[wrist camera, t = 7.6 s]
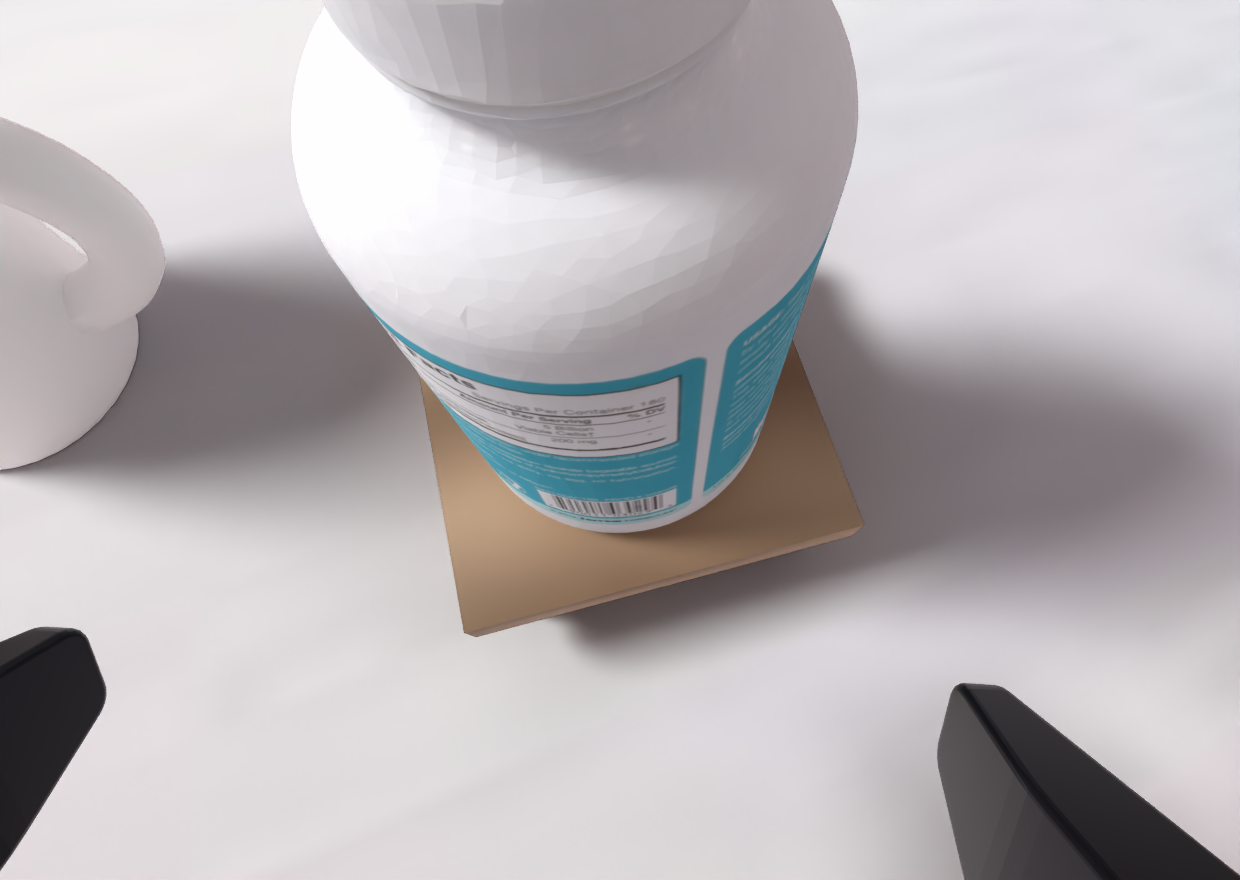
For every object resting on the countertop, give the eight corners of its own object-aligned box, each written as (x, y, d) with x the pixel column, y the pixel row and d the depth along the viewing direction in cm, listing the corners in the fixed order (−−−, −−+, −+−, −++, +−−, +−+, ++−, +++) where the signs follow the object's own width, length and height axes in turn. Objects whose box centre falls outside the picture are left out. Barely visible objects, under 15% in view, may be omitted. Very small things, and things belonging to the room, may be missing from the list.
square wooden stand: (832, 552, 21) (864, 525, 17) (496, 643, 20) (464, 633, 17) (728, 268, 24) (738, 200, 21) (439, 342, 24) (403, 284, 20)
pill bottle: (661, 238, 20) (661, -514, 8) (819, 441, 18) (1190, -165, 5) (431, 367, 19) (-1, -258, 7) (567, 600, 17) (298, 310, 4)
